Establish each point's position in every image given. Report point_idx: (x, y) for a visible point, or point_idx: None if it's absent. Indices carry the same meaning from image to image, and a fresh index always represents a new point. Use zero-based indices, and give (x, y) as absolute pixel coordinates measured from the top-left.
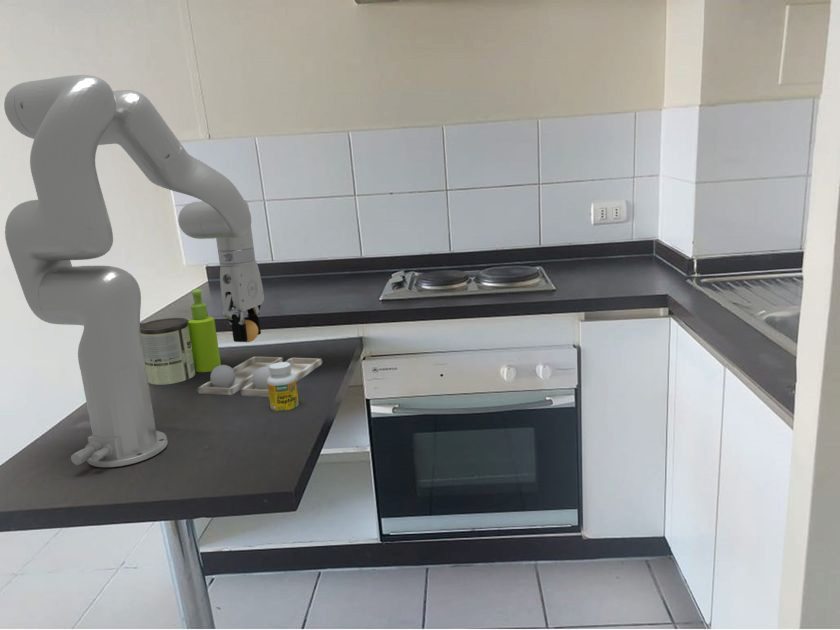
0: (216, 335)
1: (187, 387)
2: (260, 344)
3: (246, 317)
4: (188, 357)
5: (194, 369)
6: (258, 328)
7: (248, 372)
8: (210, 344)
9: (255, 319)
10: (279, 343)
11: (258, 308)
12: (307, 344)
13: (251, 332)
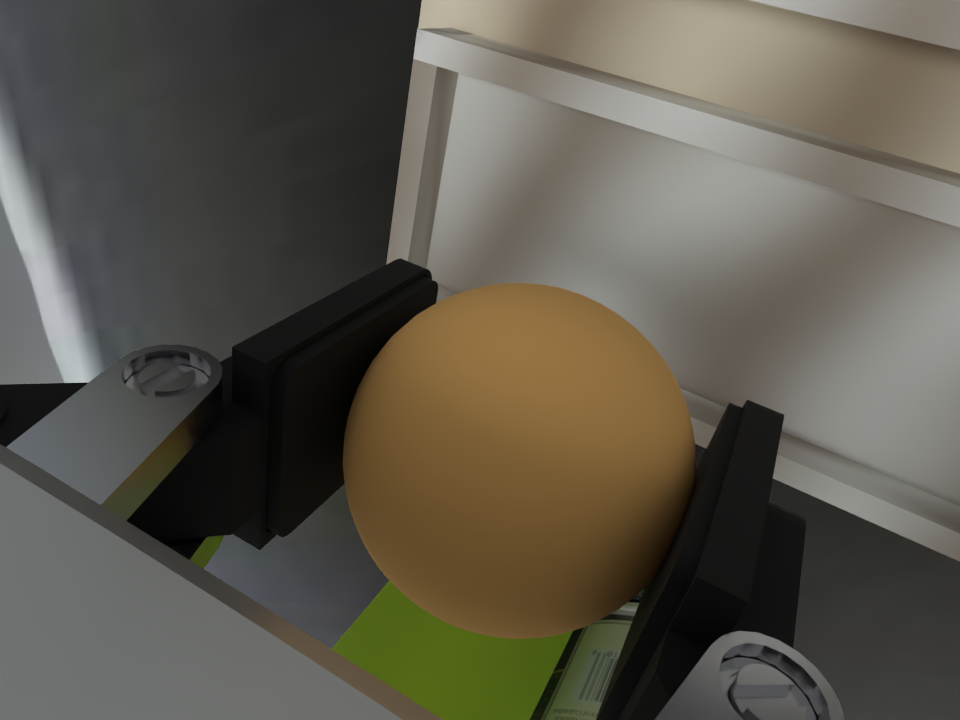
0: (365, 658)
1: None
2: (70, 312)
3: (250, 534)
4: None
5: (611, 653)
6: (388, 302)
7: (681, 290)
8: (480, 672)
9: (298, 393)
10: (36, 207)
11: (18, 411)
12: (9, 7)
13: (649, 383)
